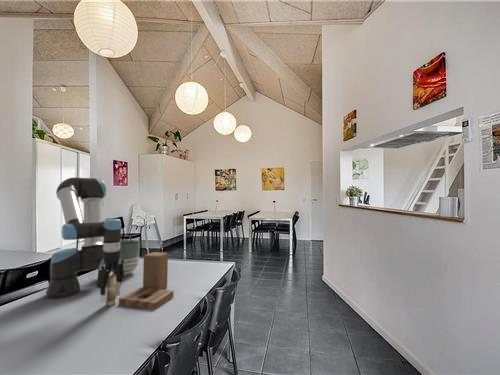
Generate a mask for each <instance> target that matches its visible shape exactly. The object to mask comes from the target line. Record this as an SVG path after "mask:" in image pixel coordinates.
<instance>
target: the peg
mask: <svg viewBox="0 0 500 375" xmlns="http://www.w3.org/2000/svg"><path fill="white" fill-rule="evenodd" d="M116 282H117V281H116V274H114V273H110V275H109V278H108V281H107V285H106V287H107V302H105V306H106V307H113V306H114V304H115V305H116V299H117V295H116Z"/></svg>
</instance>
